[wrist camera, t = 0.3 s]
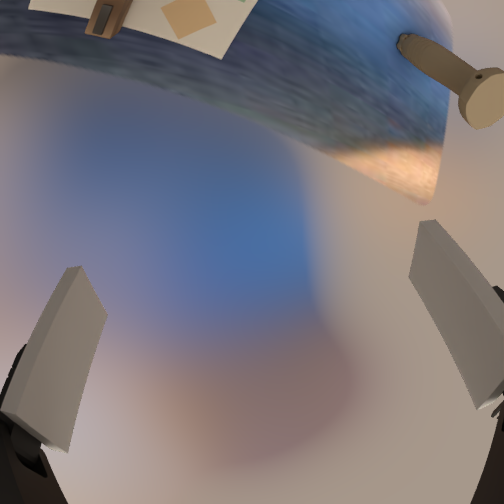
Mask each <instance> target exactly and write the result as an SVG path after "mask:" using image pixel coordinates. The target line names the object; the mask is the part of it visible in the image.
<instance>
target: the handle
mask: <svg viewBox="0 0 504 504" xmlns="http://www.w3.org/2000/svg"><path fill="white" fill-rule="evenodd" d="M397 48H398V49H399V50H400V51H401V54H402V55H403V56H404V57H405V58H406V59H408V60H409V61H410V62H411V63H412V64H413V65H414V66H415V67H417V68H418V69H419V70H421V71H422V72H423V73H425V74H426V75H428V76H429V77H431V78H433V79H434V80H436V81H438V82H439V83H441V84H442V85H444V86H446V87H447V88H449V89H450V90H452V91H453V92H454V93H456V94H457V95H459V100H458V106H459V110H460V113H461V115H462V117H463V118H464V119H465V121H466V122H467V123H468V124H469V125H470V126H471V127H473V128H474V129H476V130H477V129H482V128H485V127H489V126H491V125H492V124H494V123H495V122H496V121H498V120H499V119H500V118H502V117H503V116H504V71H503V70H501V69H499V68H485V69H481V70H478V71H477V70H476V69H474V68H473V67H472V66H470V65H469V64H467V63H466V62H465V61H463V60H462V59H460V58H459V57H458V56H456V55H455V54H453V53H452V52H450V51H449V50H448V49H446V48H445V47H443V46H441V45H439V44H438V43H436V42H434V41H432V40H429V39H427V38H424V37H421V36H418V35H415V34H410V35H406V34H402V35H401V36H400V40H399V42H398V44H397Z"/></svg>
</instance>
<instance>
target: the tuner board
mask: <svg viewBox="0 0 504 504" xmlns="http://www.w3.org/2000/svg"><path fill="white" fill-rule="evenodd" d="M96 1H97V0H31V1H30V4H29V8H28V9H31V10H39V11H47V12H54V13H61V14H67V15H73V16H78V17H83V18H88V19H90V17H91V14H92V12H93V9H94V6H95V4H96ZM257 1H258V0H133V2H132V4H131V6H130V8H129V11H128V13H127V15H126V17H125V20H124V22H123V24H122V26H123V27H127V28H130V29H134V30H138V31H141V32H145V33H148V34H151V35H155V36H158V37H161V38H164V39H167V40H170V41H173V42H176V43H179V44H182V45H185V46H188V47H190V48H193V49H196V50H199V51H201V52H204V53H206V54H209V55H212V56H214V57H217V58H219V59H222V58H223V56H224V54H225V53H226V51H227V49H228V47H229V46H230V44H231V42H232V41H233V39H234V37H235V36H236V34H237V32H238V31H239V29H240V27H241V26H242V24H243V23H244V21H245V19H246V18H247V16H248V15H249V13H250V11H251V10H252V8H253V7H254V5H255V4H256V2H257Z"/></svg>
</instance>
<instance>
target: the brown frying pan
mask: <svg viewBox="0 0 504 504" xmlns="http://www.w3.org/2000/svg"><path fill="white" fill-rule="evenodd" d="M132 2H133V0H97V1H96V4H95V6H94V9H93V12H92V14H91V17H90V20H89V22H88V25H87V28H86V31H85V34H90V35H94V36H99V37H103V38H107V39H110V38H112V37H113V36H114V35H115V34H117V33H118V32H119V31H120V29H121V27H122V24H123V22H124V20H125V17H126V15H127V13H128V11H129V8H130V6H131V4H132Z"/></svg>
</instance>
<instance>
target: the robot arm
mask: <svg viewBox="0 0 504 504" xmlns="http://www.w3.org/2000/svg"><path fill="white" fill-rule="evenodd" d="M409 279H410V280H411V282H412V284H413V285H414V287H415V289H416V290H417V292H418V294H419V296H420V297H421V299H422V301H423V302H424V304H425V306H426V308H427V310H428V311H429V313H430V315H431V317H432V318H433V320H434V322H435V324H436V326H437V328H438V330H439V331H440V333H441V335H442V337H443V339H444V341H445V343H446V345H447V347H448V349H449V351H450V353H451V355H452V357H453V359H454V361H455V363H456V365H457V367H458V369H459V372H460V373H461V376H462V378H463V380H464V382H465V384H466V387H467V389H468V391H469V393H470V396H471V398H472V400H473V403H474V405H475V407H476V410H479V409H481V408H483V407H485V406H487V405H490V404H492V403H494V402H495V401H496V399H497V398H498V397H499V396H500V395H501V394H502V393H503V395H504V291H503V290H502V289H500V288H499V287H498V286H494V287H491V285H490V284H489V283H488V281H487V280H486V279H485V277H484V276H483V275H482V274H481V272H480V271H479V270H478V268H477V267H476V266H475V265H474V263H473V262H472V261H471V260H470V258H469V257H468V256H467V255H466V254H465V252H464V251H463V250H462V249H461V248H460V247H459V246H458V244H457V243H456V242H455V241H454V240H453V239H452V238H451V236H450V235H449V234H448V233H447V232H446V231H445V230H444V228H443V227H442V226H441V225H440V224H439V223H438V222H437V221H436V220H428V221H420V222H419V228H418V234H417V240H416V244H415V249H414V254H413V259H412V264H411V268H410V273H409ZM107 315H108V314H107V312H106V311H105V309H104V307H103V305H102V304H101V302H100V300H99V298H98V296H97V295H96V293H95V291H94V289H93V287H92V285H91V283H90V281H89V279H88V277H87V276H86V273H85V272H84V269H83V268H82V266H78V267H71V268H67V269H66V271H65V273H64V274H63V276H62V278H61V279H60V281H59V283H58V285H57V286H56V288H55V290H54V292H53V294H52V295H51V297H50V299H49V301H48V303H47V305H46V307H45V309H44V311H43V313H42V315H41V316H40V318H39V320H38V322H37V325H36V327H35V328H34V330H33V332H32V334H31V337H30V339H29V341H28V343H27V344H25V345H24V347H23V348H22V349H21V350H20V351H19V353H18V354H17V355H16V358H15V360H14V363H13V365H12V368H11V369H10V372H9V374H8V378H7V379H6V381H5V384H4V386H3V389H2V392H1V394H0V504H68V503H67V501H66V499H65V497H64V495H63V493H62V491H61V489H60V487H59V484H58V482H57V480H56V478H55V476H54V473H53V471H52V469H51V467H50V464H49V462H48V460H47V457H46V455H45V453H44V452H43V450H42V449H40V447H41V443H43V444H44V445H46V446H47V447H48V448H50V449H51V450H55V451H59V452H64V453H68V450H69V446H70V442H71V437H72V433H73V429H74V425H75V420H76V417H77V413H78V409H79V405H80V401H81V398H82V394H83V390H84V387H85V383H86V380H87V376H88V373H89V370H90V367H91V363H92V360H93V357H94V354H95V351H96V348H97V344H98V342H99V339H100V336H101V333H102V330H103V327H104V324H105V321H106V318H107ZM499 411H500V413H499V416H498V417H497V419H498V422H497V426H496V430H495V434H494V437H493V441H492V444H491V448H490V451H489V454H488V458H487V461H486V464H485V467H484V470H483V473H482V475H481V478H480V481H479V483H478V486H477V489H476V491H475V494H474V496H473V499H472V501H471V504H504V400H503V402H502V403H501V404H500V405H499V406H498V407H497V408H496V409H495V410H494V411H493V413H492V415H491V417H494V416H495V415H496V414H497V413H498V412H499Z"/></svg>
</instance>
